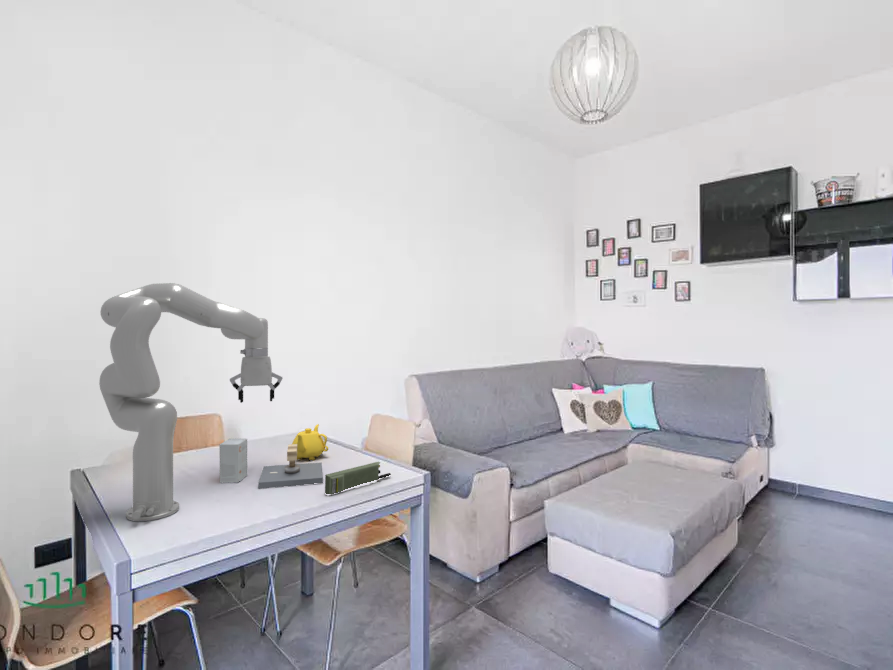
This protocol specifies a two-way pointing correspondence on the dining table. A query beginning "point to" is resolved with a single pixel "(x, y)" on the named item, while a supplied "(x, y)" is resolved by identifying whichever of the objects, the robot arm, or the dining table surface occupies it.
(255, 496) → the dining table surface
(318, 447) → the teapot
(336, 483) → the handheld radio
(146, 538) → the dining table surface
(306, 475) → the plate
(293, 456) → the t key
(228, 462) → the small box
